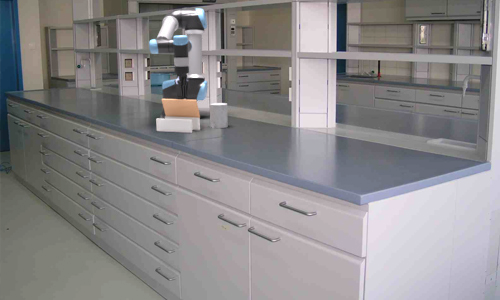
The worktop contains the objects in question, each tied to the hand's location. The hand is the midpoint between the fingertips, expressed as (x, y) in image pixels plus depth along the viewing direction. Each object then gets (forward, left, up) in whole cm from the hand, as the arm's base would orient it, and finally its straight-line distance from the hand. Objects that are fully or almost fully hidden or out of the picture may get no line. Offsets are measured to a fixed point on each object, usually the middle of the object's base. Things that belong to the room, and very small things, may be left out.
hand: (183, 110), depth 289 cm
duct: (+6, 0, -10) cm, 11 cm away
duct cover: (+3, 0, +2) cm, 4 cm away
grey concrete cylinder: (-12, +15, -10) cm, 21 cm away
